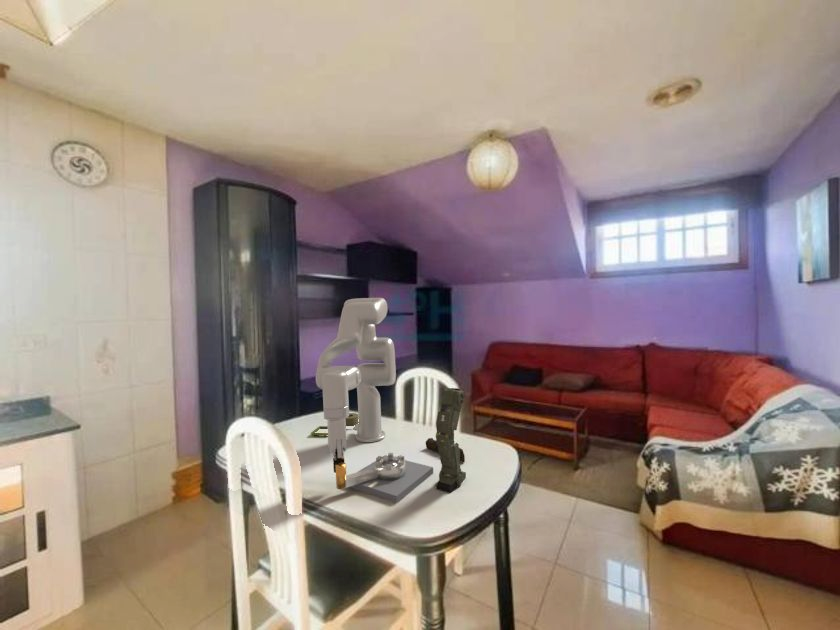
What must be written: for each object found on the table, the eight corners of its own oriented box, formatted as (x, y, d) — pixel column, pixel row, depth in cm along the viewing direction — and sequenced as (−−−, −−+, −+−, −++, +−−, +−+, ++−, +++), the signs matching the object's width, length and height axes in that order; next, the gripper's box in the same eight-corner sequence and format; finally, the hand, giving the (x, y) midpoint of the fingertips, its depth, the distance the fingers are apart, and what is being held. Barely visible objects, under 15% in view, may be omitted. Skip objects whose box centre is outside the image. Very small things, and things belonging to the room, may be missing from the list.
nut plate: (345, 485, 109) (345, 478, 109) (385, 460, 126) (385, 454, 126) (396, 503, 98) (396, 495, 98) (433, 473, 115) (433, 466, 115)
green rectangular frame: (337, 431, 159) (337, 426, 159) (329, 438, 151) (329, 433, 151) (319, 430, 161) (319, 426, 161) (310, 437, 152) (310, 432, 152)
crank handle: (397, 462, 119) (396, 442, 118) (411, 474, 110) (410, 452, 110) (331, 481, 107) (330, 459, 107) (342, 496, 98) (341, 472, 98)
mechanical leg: (447, 497, 99) (455, 388, 104) (425, 490, 102) (434, 386, 108) (467, 486, 110) (473, 389, 115) (447, 481, 114) (454, 387, 119)
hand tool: (425, 449, 135) (424, 437, 135) (433, 446, 137) (432, 434, 137) (458, 466, 120) (458, 453, 120) (467, 462, 122) (466, 449, 122)
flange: (355, 421, 157) (370, 411, 171) (326, 419, 162) (343, 410, 176) (356, 432, 157) (370, 421, 171) (327, 429, 162) (343, 419, 176)
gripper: (322, 406, 112) (325, 462, 113) (325, 420, 98) (328, 485, 99) (346, 403, 115) (348, 458, 115) (352, 417, 101) (354, 479, 101)
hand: (339, 470), depth 107 cm, fingers closed
